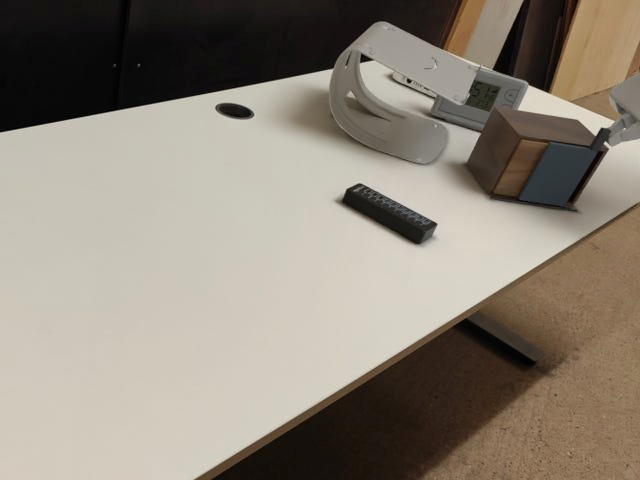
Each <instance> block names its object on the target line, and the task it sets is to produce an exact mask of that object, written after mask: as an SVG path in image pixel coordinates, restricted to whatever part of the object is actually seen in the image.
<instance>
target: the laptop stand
mask: <svg viewBox="0 0 640 480" xmlns="http://www.w3.org/2000/svg"><path fill="white" fill-rule="evenodd" d="M361 55H364V56H366V57H367V58H369V59H371V60H373V61H374V62H377V63H378V64H380V65H382V66H384V67H386V68H388V69H390V70H391V71H393V72H394V71H395V72H397V73H399V74H401V75H403V76H404V77H406V78H408V79H410V80H412V81H414V82H416V83H417V84H419V85H421V86H423V87H425V88H427V89H428V90H430V91H432V92H434V93H436V94H438V95H440V96H441V97H443V98H445V99H447V100H449V101H451V102H452V103H454V104H456V105H458V106H462V105H464V104H465V103H466V101H467V99H468V97H469V95H470V94H469V93H468V92H469V90H470V87H471V85H472V83H473V81H474V78H475V76H476V74H478V72H479V71H480V69H481V68H483V63H481V64H480V65H479V66H478V67H479V69H478V68H476V67H475V66H476V65H474V64H471V63H469V62H467V61H465V60H463V59H461V58H459V57H457V56H455V55H453V54H452V53H449V52H447V51H445V50H443V49H441V48H439V47H437V46H435V45H433V44H431V43H429V42H427V41H426V40H423V39H421V38H419V37H418V36H415V35H414V34H411V33H409V32H407V31H405V30H403V29H401V28H400V27H397V26H396V25H393V24H392V23H390V22H387V21H377V22H374V23H373V24H372V25H370V26H369V27H368V28H367V29H366V30H365V31H364V32H363V33H362V34H361V35H360V36H358V38H356V39H355V40H354V41H353V42H352V43H351V44H350V45H348V47H347V48H346V49H344V50H343V51H342V53H340V55H339V56H338V58H337V59H336V61H335V63H334V67H333V69H332V72H331V75H330V79H329V83H328V84H329V85H328V105H329V108H330V111H331V114H332V116H333V119H334V120H335V122H336V124H337V125H338V126H339V127H340V128H341V129H342V130H343V131H344V132H345V133H347V134H348V136H350V137H352V138H353V139H354V140H356V141H358V142H359V143H361V144H363V145H364V146H365V145H366V147H369V148H371V149H373V150H376V151H378V152H382V153H385V154H388V155H391V156H394V157H397V158H399V159H403V160H406V161H409V162H413V163H415V164H416V163H417V164H422V165H426V164H431V163H432V162H433V161H434V160H435V159H437V157H438V156H440V154H441V152H442V151H443V149H444V147H445V144H446V141H447V129H446V127H445V126H444V124H442V123H440V122H438V121H436V120H433V119H430V118H426V117H424V116H421V115H418V114H414V113H412V112H410V111H409V112H408V111H406V110H402V109H399V108H397V107H395V106H393V105H391V104H389V103H387V102H385V101H384V100H382V99H380V98H379V97H378V96H376V95H375V94H374V93H372V91H370V89H369V88H368V87H367V86H366V84H365V82H364V80H363V77H362V73H361ZM347 61H348V62H347ZM435 63H436V65H437V68H435V69H432V68H434V66H435ZM350 92H351V93H352V95H353V96H354V98H355V99H356V101H357V102H358V103H359V104H360V105H362V106H363V107H364V109H367V110H368V111H369V112H370V113H371V114H369V113H365V112H362V111H359V110H356V109H353V108H350V107H348V106H347V103H346V99H345V98H346V97H347V95H348V94H349V93H350ZM467 94H468V95H467ZM466 96H467V97H466ZM372 114H373V115H372Z"/></svg>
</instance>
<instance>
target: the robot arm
mask: <svg viewBox="0 0 640 480" xmlns="http://www.w3.org/2000/svg"><path fill="white" fill-rule="evenodd" d="M607 94H608V99H609V104H610V106H611V108H612V110H614V111H615V112H616V113H617V114H618V115H619V117H617V118H616V120H615V121H614V122H613V123H612V124H611V125H610V126H608V127H607V128H608V129H610V130H611V133H610V134H609V136H608V138H607V139H606V141H605V143H607V145H609V146H610V147H612V148H613V147H615V146H617V145H619V144H621V143H625V142H631V141H635V140H636V141H637V140H639V139H640V71H639V72H637V73H635V74H634V75H632V76H630V77H628V78H626V79H624V80H623V81H621V82H619V83H617V84H616V85H614V86H613V87H612V88H611V89H610V91H609V92H608V93H607Z"/></svg>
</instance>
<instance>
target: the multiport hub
mask: <svg viewBox="0 0 640 480" xmlns="http://www.w3.org/2000/svg"><path fill="white" fill-rule="evenodd" d="M341 203H342V204H344V205H346V206H347V207H349V208H351V209H353V210H355V211H356V212H358V213H360V214H362V215H364V216H366V217H367V218H369V219H370V220H373V221H375V222H377V223H379V224H380V225H382V226H384V227H385V228H388V229H389V230H391V231H393V232H395V233H397V234H398V235H400V236H402V237H404V238H406V239H408V240H409V241H411V242H413V243H415V244H416V245H421V244H423V243H424V242H426V241H428V240H429V239H431V238H432V237H433V235H434V233H435V231H436V230H437V227H438V222H436V221H435V220H432V219H430V218H429V217H427V216H424V215H422V214H420V213H418V212H417V211H415V210H413V209H411V208H410V207H407V206H405V205H404V204H401V203H400V202H397V201H396V200H394V199H392V198H391V197H388V196H387V195H384V194H382V193H380V192H379V191H376V190H375V189H373V188H371V187H369V186H367V185H365V184H364V183H360V182H358V183H356V184H353V185H351V186H350V187H348V188H346V189H345V192H344V195H343V197H342V199H341Z"/></svg>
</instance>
